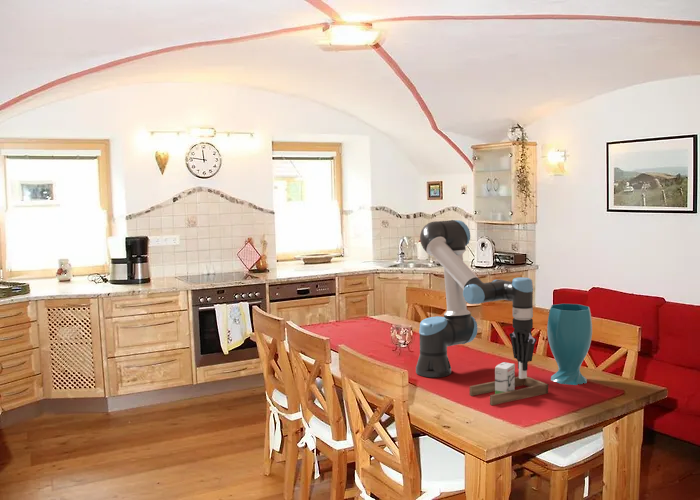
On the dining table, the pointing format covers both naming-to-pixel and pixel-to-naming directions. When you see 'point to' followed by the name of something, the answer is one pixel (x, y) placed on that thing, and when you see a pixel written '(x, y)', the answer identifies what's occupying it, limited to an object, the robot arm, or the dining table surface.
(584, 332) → the vase
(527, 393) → the walnut frame
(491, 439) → the dining table surface
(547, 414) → the dining table surface
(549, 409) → the dining table surface
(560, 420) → the dining table surface
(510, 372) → the ink box
